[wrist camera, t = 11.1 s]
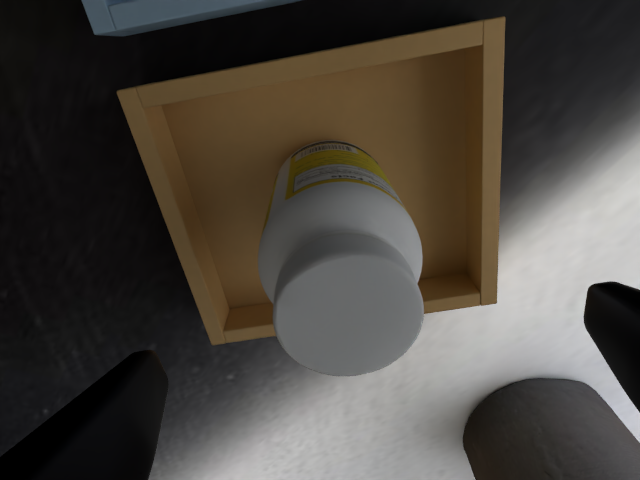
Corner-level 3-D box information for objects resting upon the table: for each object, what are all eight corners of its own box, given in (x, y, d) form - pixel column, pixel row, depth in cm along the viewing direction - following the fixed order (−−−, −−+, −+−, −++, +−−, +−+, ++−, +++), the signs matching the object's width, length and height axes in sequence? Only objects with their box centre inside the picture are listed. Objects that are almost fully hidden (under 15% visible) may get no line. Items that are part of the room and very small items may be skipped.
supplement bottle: (333, 263, 21) (347, 423, 12) (251, 197, 19) (198, 328, 10) (410, 189, 19) (494, 314, 10) (327, 111, 17) (342, 178, 9)
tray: (480, 20, 16) (505, 15, 14) (478, 278, 22) (497, 303, 20) (139, 85, 17) (115, 90, 15) (221, 317, 23) (211, 345, 20)
